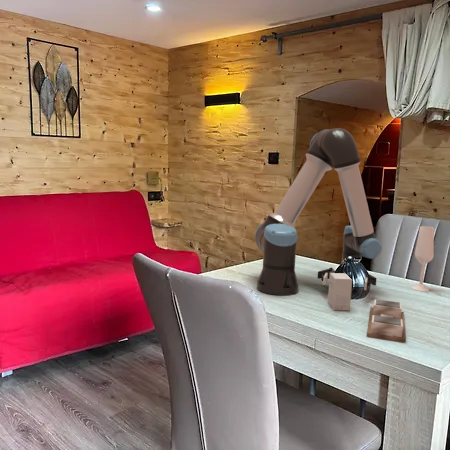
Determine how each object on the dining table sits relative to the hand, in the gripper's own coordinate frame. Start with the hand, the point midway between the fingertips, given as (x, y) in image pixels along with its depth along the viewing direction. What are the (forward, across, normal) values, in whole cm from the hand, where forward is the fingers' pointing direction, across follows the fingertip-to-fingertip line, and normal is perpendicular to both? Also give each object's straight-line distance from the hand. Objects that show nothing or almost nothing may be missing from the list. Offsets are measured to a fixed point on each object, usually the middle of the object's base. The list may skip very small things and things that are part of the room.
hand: (344, 283), depth 153 cm
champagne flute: (-31, -26, -7) cm, 41 cm away
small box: (+6, +1, -7) cm, 9 cm away
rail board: (+17, -14, -6) cm, 23 cm away
